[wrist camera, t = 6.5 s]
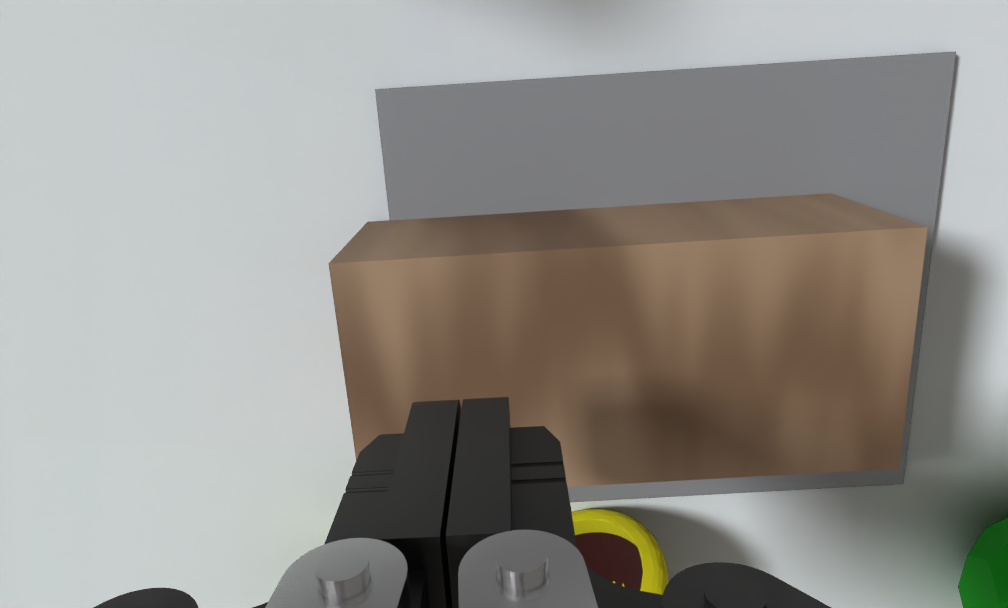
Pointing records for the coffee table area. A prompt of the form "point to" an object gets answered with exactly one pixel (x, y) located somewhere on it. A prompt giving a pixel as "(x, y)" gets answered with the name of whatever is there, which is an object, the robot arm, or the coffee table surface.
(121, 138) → the coffee table surface
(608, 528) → the opera glasses
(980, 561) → the polyhedron
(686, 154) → the mat
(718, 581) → the robot arm
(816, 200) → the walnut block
